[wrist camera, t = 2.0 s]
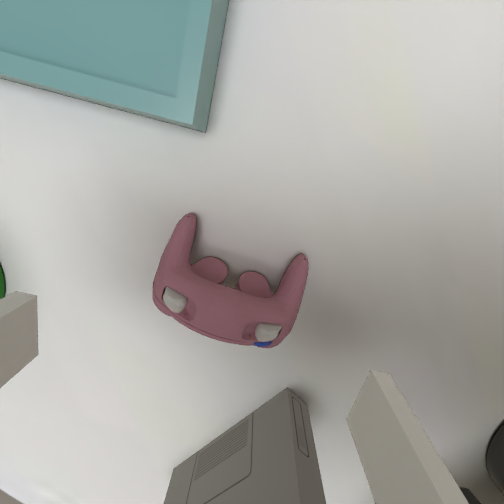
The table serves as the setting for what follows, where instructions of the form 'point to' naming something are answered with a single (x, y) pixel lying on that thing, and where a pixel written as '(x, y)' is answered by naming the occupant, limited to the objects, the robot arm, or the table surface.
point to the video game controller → (225, 295)
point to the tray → (118, 53)
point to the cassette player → (255, 461)
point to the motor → (1, 285)
